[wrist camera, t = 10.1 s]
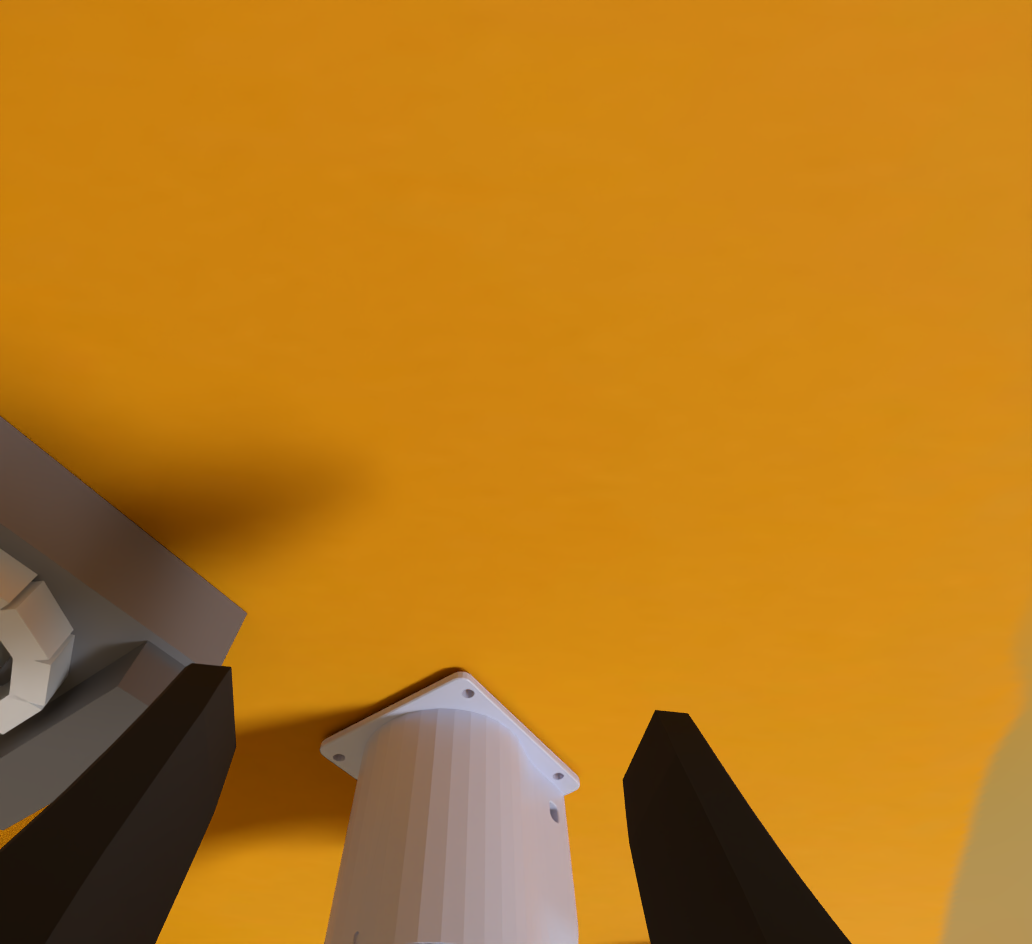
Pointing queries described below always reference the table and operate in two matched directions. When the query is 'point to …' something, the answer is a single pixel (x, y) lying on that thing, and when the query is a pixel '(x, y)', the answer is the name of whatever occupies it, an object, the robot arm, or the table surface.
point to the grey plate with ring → (84, 625)
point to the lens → (3, 655)
